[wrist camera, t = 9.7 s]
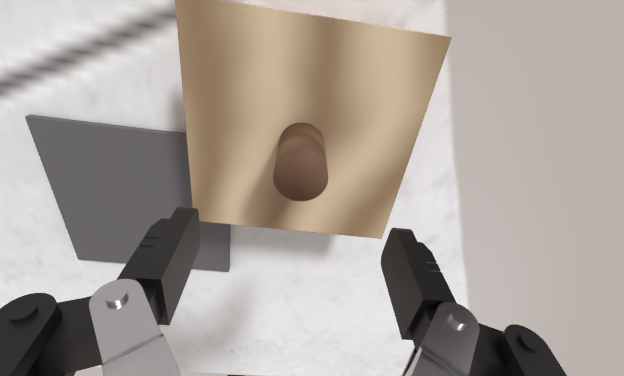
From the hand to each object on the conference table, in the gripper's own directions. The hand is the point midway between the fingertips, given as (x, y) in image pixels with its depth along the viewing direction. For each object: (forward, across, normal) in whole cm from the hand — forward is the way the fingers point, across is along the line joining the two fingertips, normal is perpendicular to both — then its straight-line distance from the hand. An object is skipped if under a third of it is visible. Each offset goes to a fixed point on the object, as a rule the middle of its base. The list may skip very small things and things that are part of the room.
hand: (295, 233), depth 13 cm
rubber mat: (+15, +14, +11) cm, 23 cm away
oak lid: (+10, 0, 0) cm, 10 cm away
